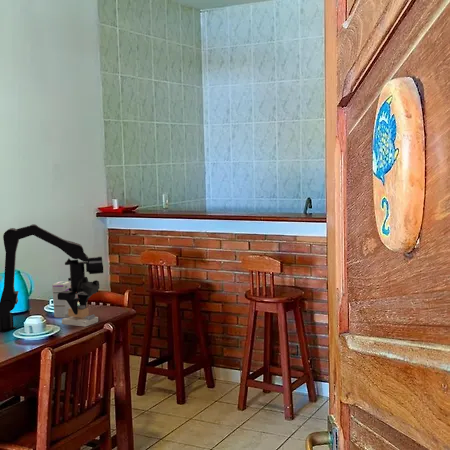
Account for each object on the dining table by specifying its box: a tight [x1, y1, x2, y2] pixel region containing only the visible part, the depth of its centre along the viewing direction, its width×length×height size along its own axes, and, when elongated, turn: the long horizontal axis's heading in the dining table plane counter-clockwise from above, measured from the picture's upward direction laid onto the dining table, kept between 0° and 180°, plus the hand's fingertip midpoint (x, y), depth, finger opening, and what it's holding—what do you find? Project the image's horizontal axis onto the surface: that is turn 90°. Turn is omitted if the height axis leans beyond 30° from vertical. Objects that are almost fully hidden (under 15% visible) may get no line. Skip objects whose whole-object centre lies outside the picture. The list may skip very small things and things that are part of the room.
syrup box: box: [51, 280, 71, 319], centre depth 265 cm, size 6×6×14 cm
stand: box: [61, 313, 99, 327], centre depth 252 cm, size 8×12×4 cm, turn 63°
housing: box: [68, 304, 90, 317], centre depth 252 cm, size 7×4×4 cm, turn 63°
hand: (79, 313), depth 252 cm, fingers closed on housing, 4 cm apart
